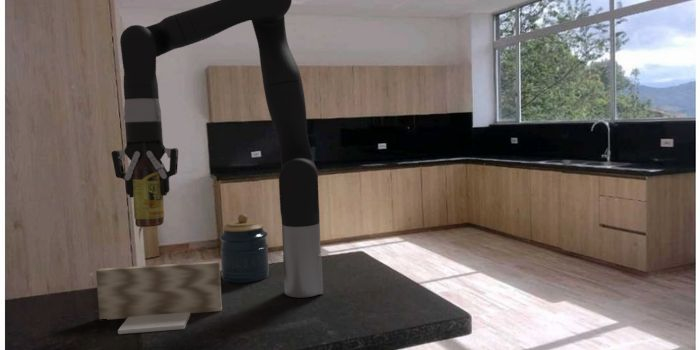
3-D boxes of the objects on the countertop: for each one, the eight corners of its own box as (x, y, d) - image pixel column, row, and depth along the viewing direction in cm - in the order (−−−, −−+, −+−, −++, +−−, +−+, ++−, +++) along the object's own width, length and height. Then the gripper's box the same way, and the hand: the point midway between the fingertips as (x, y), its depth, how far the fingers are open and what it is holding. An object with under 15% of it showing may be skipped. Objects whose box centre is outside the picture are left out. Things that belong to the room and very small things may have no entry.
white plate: (190, 315, 118) (190, 312, 118) (184, 328, 110) (184, 325, 110) (128, 320, 117) (128, 316, 116) (118, 334, 109) (117, 330, 109)
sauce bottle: (154, 228, 116) (148, 136, 114) (128, 228, 117) (122, 137, 116) (170, 222, 122) (165, 135, 121) (146, 222, 124) (140, 136, 122)
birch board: (221, 308, 122) (219, 261, 122) (221, 310, 121) (218, 262, 120) (102, 317, 119) (98, 268, 118) (99, 320, 117) (96, 270, 116)
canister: (264, 283, 142) (261, 217, 140) (215, 284, 142) (212, 218, 141) (273, 270, 155) (270, 209, 153) (228, 271, 155) (225, 210, 154)
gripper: (180, 119, 122) (184, 192, 124) (114, 121, 121) (119, 195, 122) (173, 119, 115) (178, 196, 116) (103, 121, 113) (109, 200, 115)
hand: (148, 195), depth 119 cm, fingers closed on sauce bottle, 6 cm apart
